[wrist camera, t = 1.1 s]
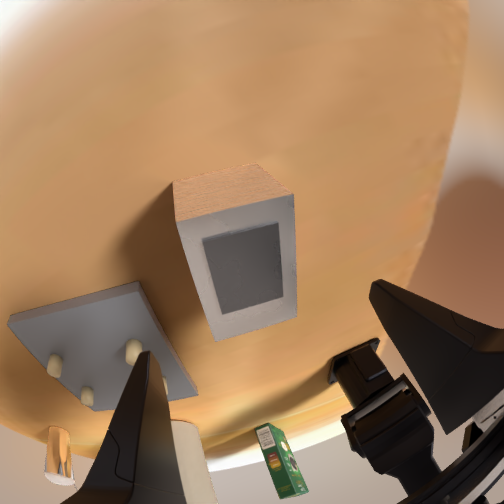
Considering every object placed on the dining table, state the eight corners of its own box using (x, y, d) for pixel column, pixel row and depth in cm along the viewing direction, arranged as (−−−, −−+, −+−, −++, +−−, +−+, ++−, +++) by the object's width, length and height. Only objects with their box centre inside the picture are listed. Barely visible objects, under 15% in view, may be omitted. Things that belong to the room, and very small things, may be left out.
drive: (266, 264, 18) (297, 318, 14) (200, 282, 17) (215, 344, 13) (254, 162, 14) (295, 195, 10) (172, 181, 13) (175, 224, 9)
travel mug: (208, 428, 31) (245, 542, 16) (164, 441, 31) (191, 547, 16) (172, 412, 26) (208, 554, 11) (125, 427, 26) (148, 552, 12)
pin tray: (196, 386, 24) (201, 408, 22) (94, 403, 22) (94, 423, 20) (138, 280, 16) (137, 308, 14) (10, 315, 14) (1, 338, 12)
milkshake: (70, 439, 26) (73, 494, 18) (41, 426, 23) (40, 485, 15) (82, 435, 26) (86, 495, 18) (51, 421, 22) (50, 486, 14)
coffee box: (251, 428, 34) (279, 501, 24) (268, 421, 34) (299, 494, 24) (268, 436, 39) (293, 497, 29) (283, 430, 39) (310, 491, 29)
